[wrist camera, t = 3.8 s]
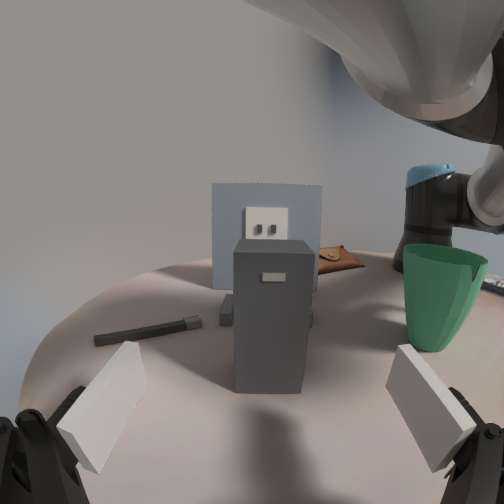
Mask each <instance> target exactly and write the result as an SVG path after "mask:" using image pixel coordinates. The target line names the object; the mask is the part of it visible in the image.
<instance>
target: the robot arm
mask: <svg viewBox="0 0 504 504" xmlns="http://www.w3.org/2000/svg"><path fill="white" fill-rule="evenodd" d="M241 1H243V2H246V3H248V4H250V5H253V6H255V7H257V8H260V9H262V10H264V11H266V12H268V13H270V14H272V15H275V16H276V17H278V18H280V19H282V20H284V21H286V22H288V23H290V24H292V25H294V26H295V27H297V28H299V29H301V30H303V31H304V32H306V33H308V34H309V35H311V36H313V37H315V38H316V39H318V40H319V41H321V42H323V43H324V44H326V45H327V46H329V47H330V48H332V49H333V50H335V51H336V52H338V53H339V54H340V55H341V57H342V60H343V63H344V65H345V66H346V68H347V70H348V72H349V73H350V75H351V76H352V78H353V79H354V80H355V82H356V83H357V84H358V85H359V86H360V87H361V88H362V89H363V90H364V91H365V92H366V93H367V94H368V95H369V96H370V97H372V98H373V99H374V100H375V101H377V102H378V103H380V104H381V105H383V106H384V107H386V108H388V109H390V110H392V111H394V112H395V113H398V114H400V115H402V116H404V117H406V118H409V119H411V120H414V121H416V122H419V123H421V124H423V125H426V126H428V127H431V128H434V129H437V130H440V131H442V132H445V133H448V134H451V135H454V136H458V137H461V138H464V139H468V140H471V141H476V142H481V143H488V144H491V147H490V150H489V152H488V155H487V157H486V160H485V162H484V165H483V167H482V168H479V169H478V170H476V171H475V172H474V173H473V174H472V175H468V174H459V173H455V169H454V167H453V166H452V165H444V164H428V165H420V166H416V167H413V168H411V169H410V170H409V171H408V173H407V182H406V183H407V184H406V188H405V189H406V210H405V224H404V233H403V236H402V239H401V241H400V243H399V246H398V248H397V251H396V253H395V255H394V261H393V267H394V268H395V269H397V270H398V271H401V272H403V273H404V267H403V249H404V246H406V245H408V244H431V245H440V246H447V247H452V242H451V236H452V227H461V228H467V229H473V230H478V231H484V232H489V233H494V234H497V235H498V234H504V0H241ZM146 386H147V380H146V376H145V372H144V367H143V363H142V358H141V353H140V348H139V343H137V342H131V341H125V342H124V343H123V344H122V345H121V346H120V348H119V349H118V350H117V351H116V352H115V353H114V355H113V356H112V357H111V358H110V359H109V361H108V362H107V363H106V364H105V365H104V367H103V368H102V369H101V370H100V371H99V373H98V374H97V375H96V376H95V378H94V379H93V380H92V381H91V382H90V384H89V385H88V386H87V387H83V386H80V387H78V388H76V389H75V390H73V391H72V392H71V393H70V394H69V395H68V396H67V398H66V399H65V400H64V401H63V402H62V405H60V406H59V407H58V408H57V410H56V411H55V412H54V413H53V415H52V416H51V417H50V418H49V419H48V421H47V422H46V421H45V419H44V417H43V416H42V414H41V413H40V412H39V411H37V410H35V409H26V410H23V411H22V412H20V413H19V414H18V415H17V417H16V419H15V423H16V424H17V426H18V428H17V427H14V426H13V424H12V422H11V421H10V420H9V419H8V418H6V417H0V504H90V503H89V500H88V498H87V495H86V493H85V490H84V487H83V484H82V481H81V478H80V475H79V472H78V470H77V468H76V464H77V463H78V461H79V463H80V464H81V465H82V467H83V468H84V469H86V470H88V471H91V472H93V473H96V474H100V472H101V470H102V468H103V466H104V464H105V463H106V461H107V459H108V457H109V455H110V453H111V451H112V449H113V447H114V445H115V443H116V441H117V440H118V438H119V436H120V434H121V432H122V430H123V428H124V426H125V425H126V423H127V421H128V419H129V417H130V415H131V413H132V412H133V410H134V408H135V406H136V404H137V402H138V401H139V399H140V397H141V395H142V393H143V391H144V390H145V388H146ZM386 388H387V390H388V391H389V393H390V395H391V397H392V398H393V400H394V402H395V404H396V405H397V407H398V409H399V411H400V413H401V414H402V416H403V418H404V420H405V422H406V423H407V425H408V427H409V429H410V431H411V433H412V435H413V436H414V438H415V440H416V442H417V444H418V446H419V448H420V450H421V452H422V454H423V456H424V458H425V459H426V461H427V463H428V465H429V467H430V469H431V471H432V473H434V472H436V471H439V470H441V469H443V468H446V467H447V466H448V464H449V463H450V462H451V461H452V459H453V460H454V462H455V464H454V466H453V467H452V468H451V469H450V470H449V471H448V473H447V474H446V475H445V477H444V478H445V479H446V478H447V477H448V476H449V474H450V477H449V480H448V483H447V486H446V489H445V492H444V495H443V498H442V500H441V503H440V504H504V428H503V429H501V427H500V426H498V425H497V424H494V423H487V424H485V423H484V421H483V420H482V419H481V418H480V416H479V415H478V414H477V413H476V411H475V410H474V409H473V408H472V406H471V405H469V403H468V402H467V400H465V398H464V397H463V395H462V394H461V393H460V392H459V391H457V390H456V389H454V388H452V387H450V388H447V387H446V385H445V384H444V383H443V382H442V380H441V379H440V378H439V377H438V376H437V374H436V373H435V372H434V371H433V370H432V369H431V367H430V366H429V365H428V364H427V363H426V362H425V360H424V359H423V358H422V357H421V356H420V355H419V354H418V352H417V351H416V350H415V349H414V348H413V347H412V346H411V344H404V345H398V347H397V351H396V354H395V358H394V361H393V364H392V368H391V371H390V374H389V377H388V380H387V383H386Z"/></svg>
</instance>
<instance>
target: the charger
mask: <svg viewBox="0 0 504 504" xmlns="http://www.w3.org/2000/svg"><path fill="white" fill-rule="evenodd" d="M314 266H315V253H314V252H313V251H312V249H311V248H310V247H309V246H308V245H307V244H306V243H305V241H304V240H278V239H239V241H238V243H237V245H236V247H235V250H234V252H233V298H234V362H235V393H250V394H298V393H301V386H302V379H303V372H304V365H305V357H306V349H307V341H308V332H309V323H310V313H311V303H312V292H313V280H314Z"/></svg>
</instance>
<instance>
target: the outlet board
mask: <svg viewBox="0 0 504 504" xmlns="http://www.w3.org/2000/svg"><path fill="white" fill-rule="evenodd" d="M321 210H322V186H319V185H318V186H317V185H300V184H269V183H212V268H213V289H229V290H233V252H234V250H235V247H236V245H237V243H238V241H239V239H278V240H304V241H305V243H306V244H307V245H308V246H309V247H310V248H311V249H312V251H313V252H314V253H315V266H314V280H313V291H316V290H317V279H318V266H319V251H320V233H321ZM233 313H234V298H233V294H226V296H225V299H224V302H223V305H222V308H221V311H220V325H229V326H231V322H232V318H233ZM312 320H313V313H312V311H311V313H310V323H309V327H312Z"/></svg>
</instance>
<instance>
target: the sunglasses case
mask: <svg viewBox="0 0 504 504" xmlns="http://www.w3.org/2000/svg"><path fill="white" fill-rule="evenodd" d="M359 267H365V266H364V265H362V264H361V263H360V262H359V261H358V260H356V259H355V258H354V257H353V256H352V255H351V254H350V253H349V252H347V251H346V250H345V249H344V247H343V246H342V245H341V246H338V247H329V248H320V251H319V266H318V275H320V274H325V273H331V272H336V271H341V270H347V269H352V268H359Z"/></svg>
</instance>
